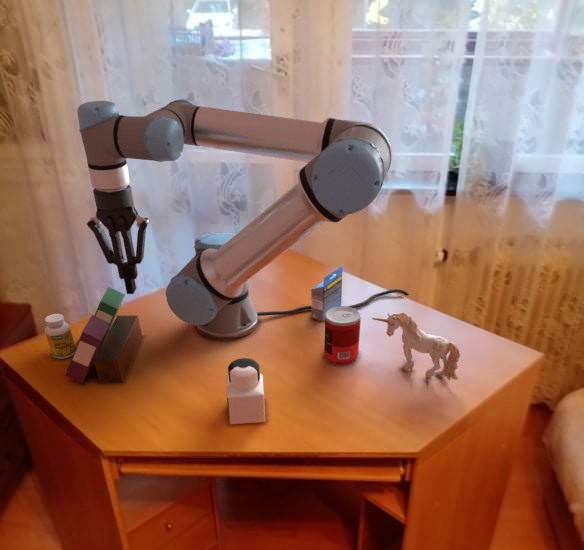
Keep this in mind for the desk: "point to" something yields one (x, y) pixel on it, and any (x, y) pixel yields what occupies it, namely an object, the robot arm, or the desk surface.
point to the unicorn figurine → (424, 345)
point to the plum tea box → (87, 349)
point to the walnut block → (118, 349)
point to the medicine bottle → (245, 392)
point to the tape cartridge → (326, 295)
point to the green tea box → (109, 307)
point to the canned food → (342, 334)
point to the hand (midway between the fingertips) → (131, 291)
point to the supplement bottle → (59, 336)
